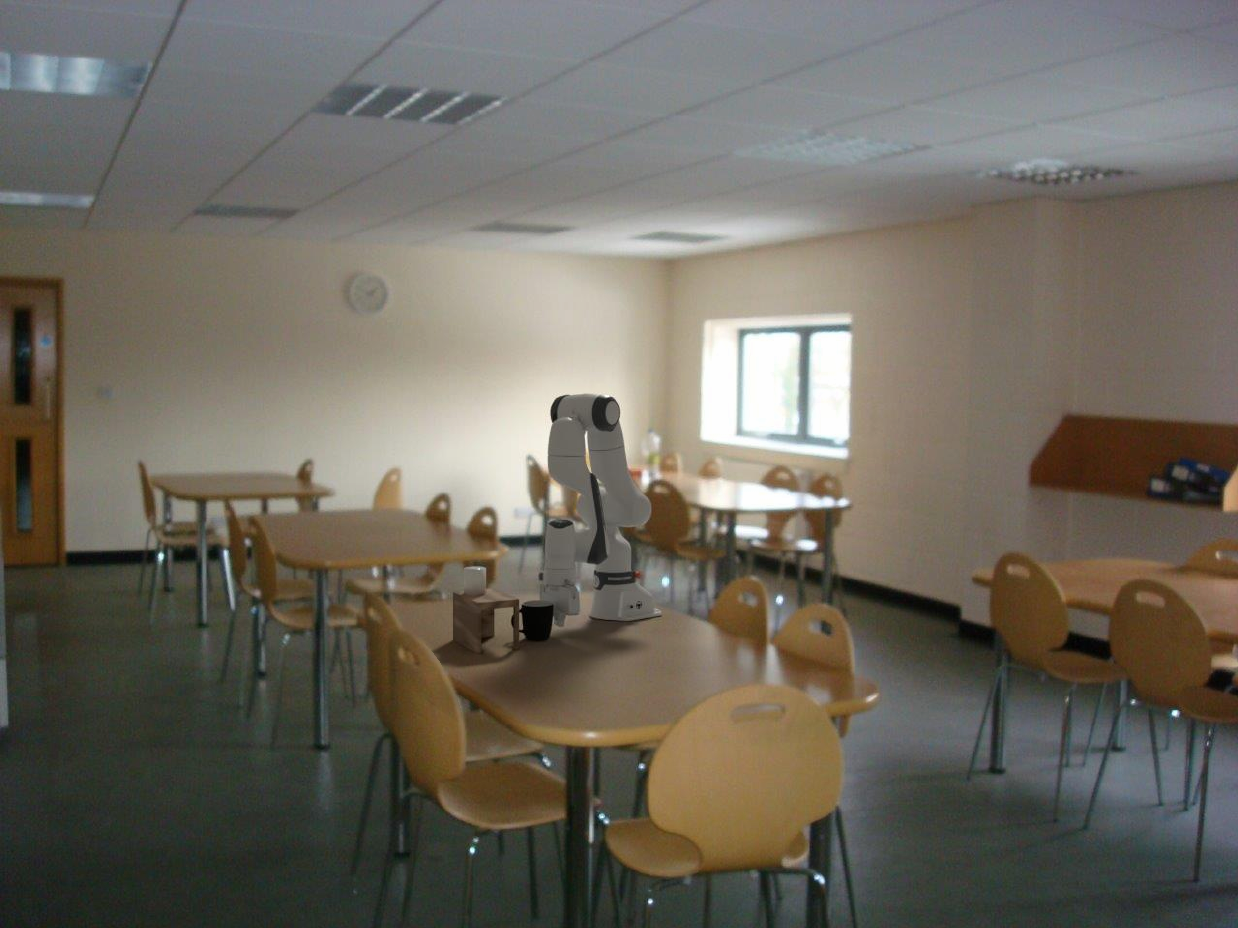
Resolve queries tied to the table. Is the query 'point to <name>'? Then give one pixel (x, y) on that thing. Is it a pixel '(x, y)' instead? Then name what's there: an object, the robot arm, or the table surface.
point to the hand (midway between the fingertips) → (559, 625)
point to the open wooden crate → (481, 617)
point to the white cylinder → (474, 580)
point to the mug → (536, 619)
